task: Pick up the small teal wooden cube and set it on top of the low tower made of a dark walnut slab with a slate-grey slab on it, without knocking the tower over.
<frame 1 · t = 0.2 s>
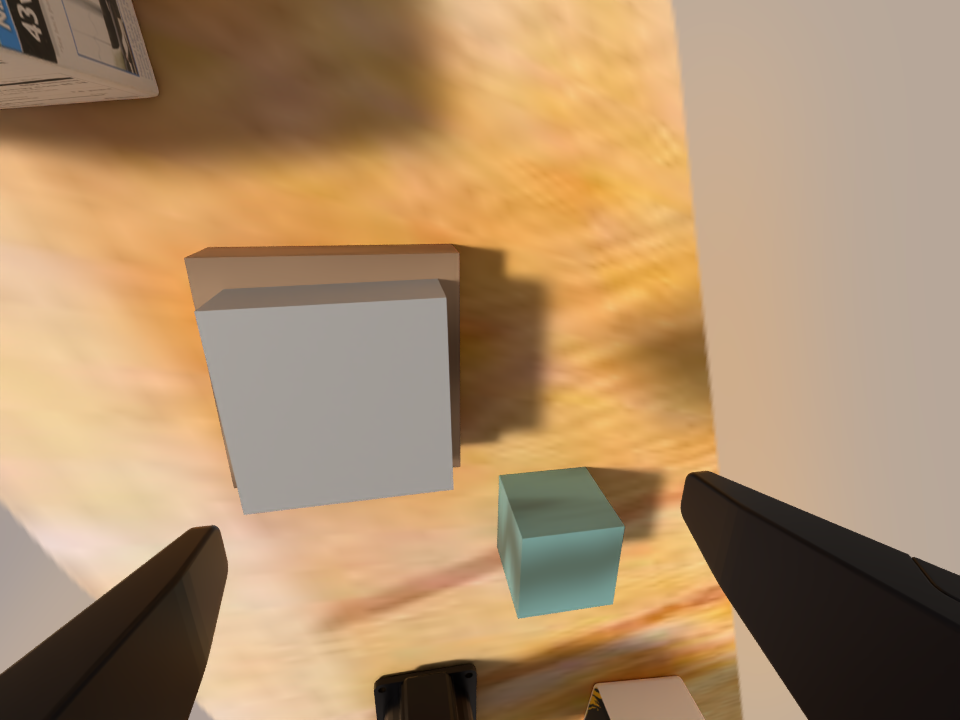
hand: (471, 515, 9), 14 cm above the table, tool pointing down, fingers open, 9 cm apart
grey slab: (346, 377, 20), point 2 cm above the table, touching walnut slab
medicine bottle: (625, 706, 37), on the table
teal block: (540, 506, 28), on the table
walnut slab: (346, 351, 23), on the table, touching grey slab
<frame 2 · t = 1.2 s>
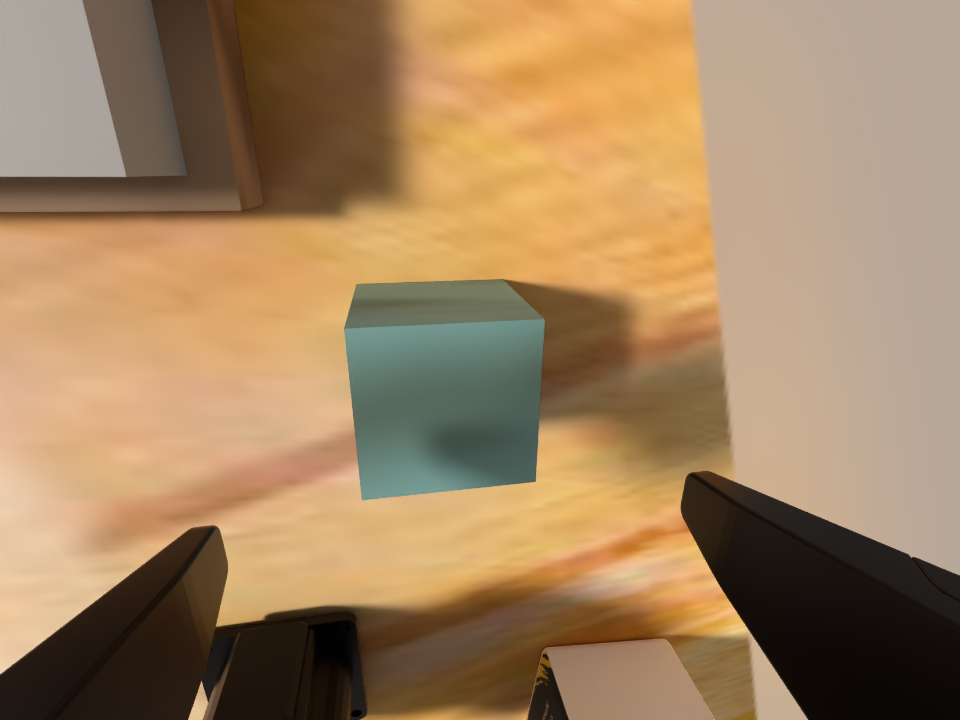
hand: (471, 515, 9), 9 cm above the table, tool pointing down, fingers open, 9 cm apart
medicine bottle: (590, 683, 26), on the table
teal block: (433, 349, 17), on the table
walnut slab: (35, 2, 12), on the table, touching grey slab
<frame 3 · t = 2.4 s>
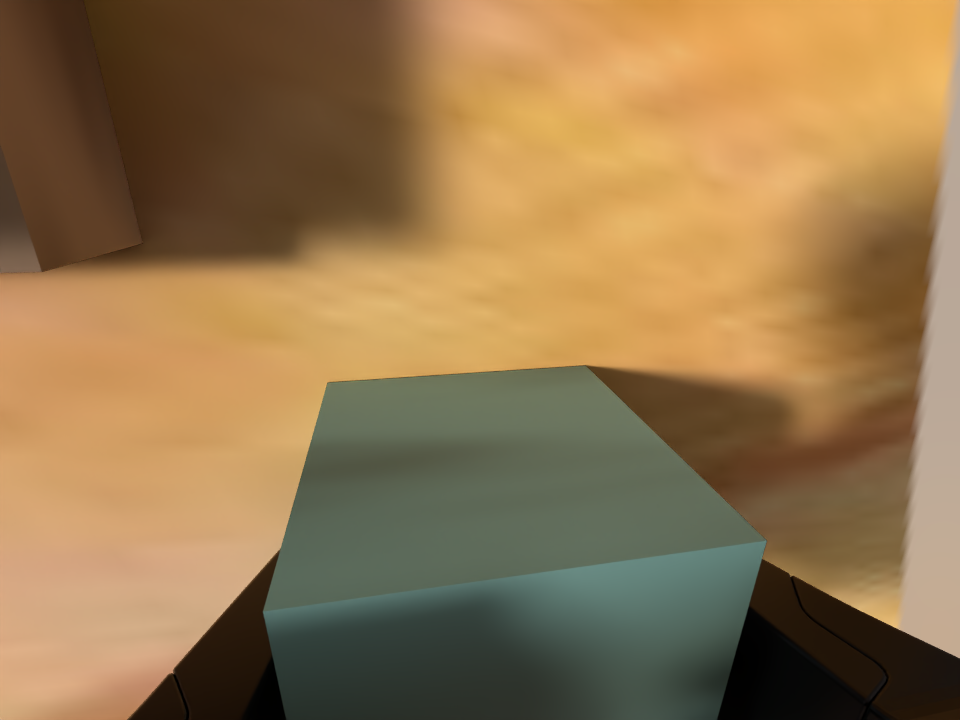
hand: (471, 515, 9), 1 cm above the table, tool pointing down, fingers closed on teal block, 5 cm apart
teal block: (463, 482, 10), on the table, touching gripper
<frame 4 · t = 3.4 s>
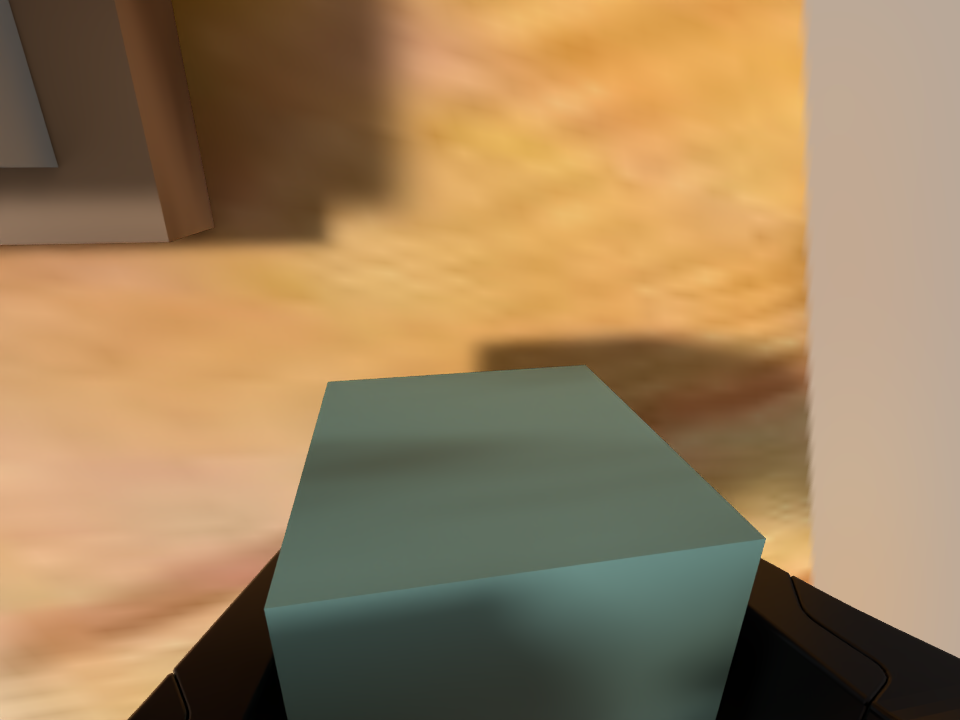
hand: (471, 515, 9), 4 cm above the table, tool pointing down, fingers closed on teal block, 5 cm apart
teal block: (463, 481, 10), point 3 cm above the table, touching gripper
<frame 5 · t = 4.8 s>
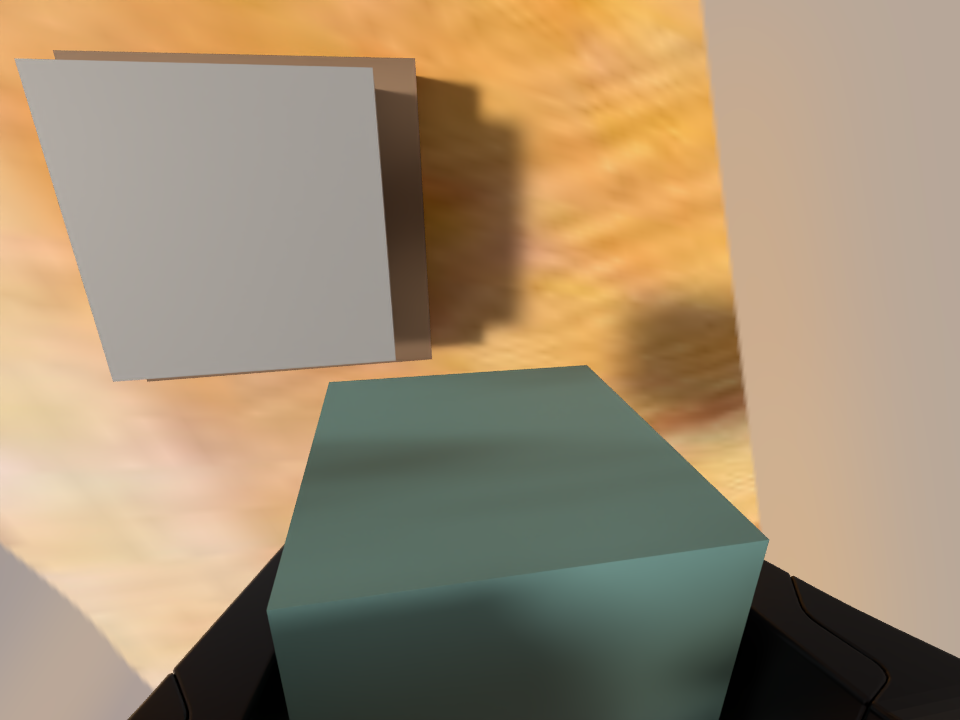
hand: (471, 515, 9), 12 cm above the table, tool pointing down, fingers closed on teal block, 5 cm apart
grey slab: (262, 224, 16), point 2 cm above the table, touching walnut slab
teal block: (464, 482, 10), point 11 cm above the table, touching gripper
walnut slab: (290, 222, 19), on the table, touching grey slab
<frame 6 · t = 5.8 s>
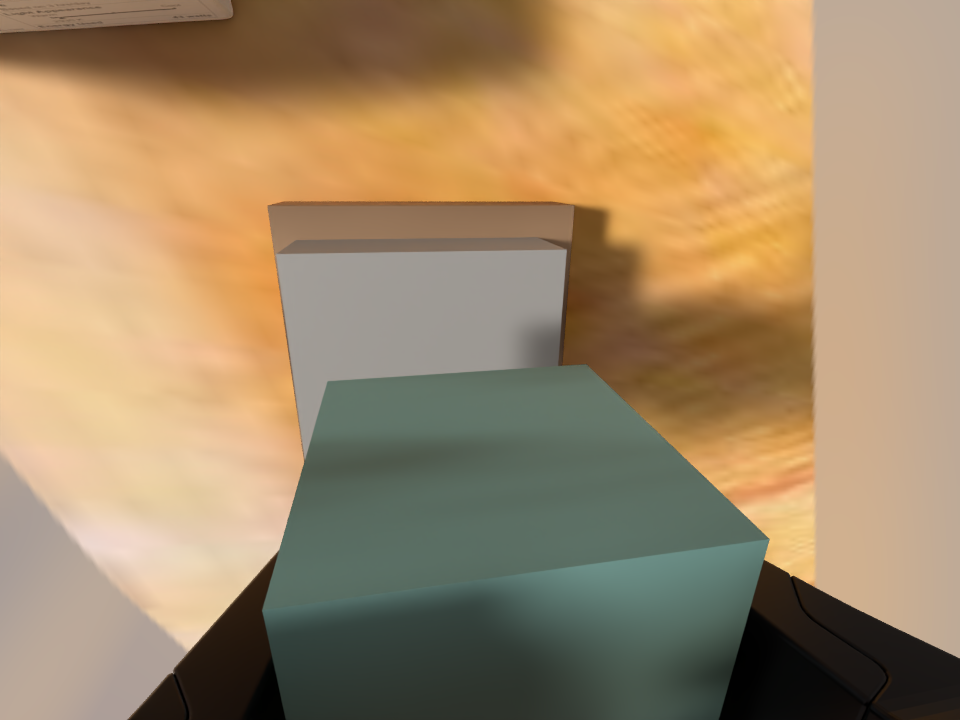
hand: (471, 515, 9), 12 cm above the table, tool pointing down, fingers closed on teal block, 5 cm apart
grey slab: (425, 351, 17), point 2 cm above the table, touching walnut slab
teal block: (463, 481, 10), point 10 cm above the table, touching gripper
walnut slab: (426, 325, 20), on the table, touching grey slab
when the fingers open (8 cm above the table, at t = 6.9 s): teal block drops 2 cm, resting on grey slab.
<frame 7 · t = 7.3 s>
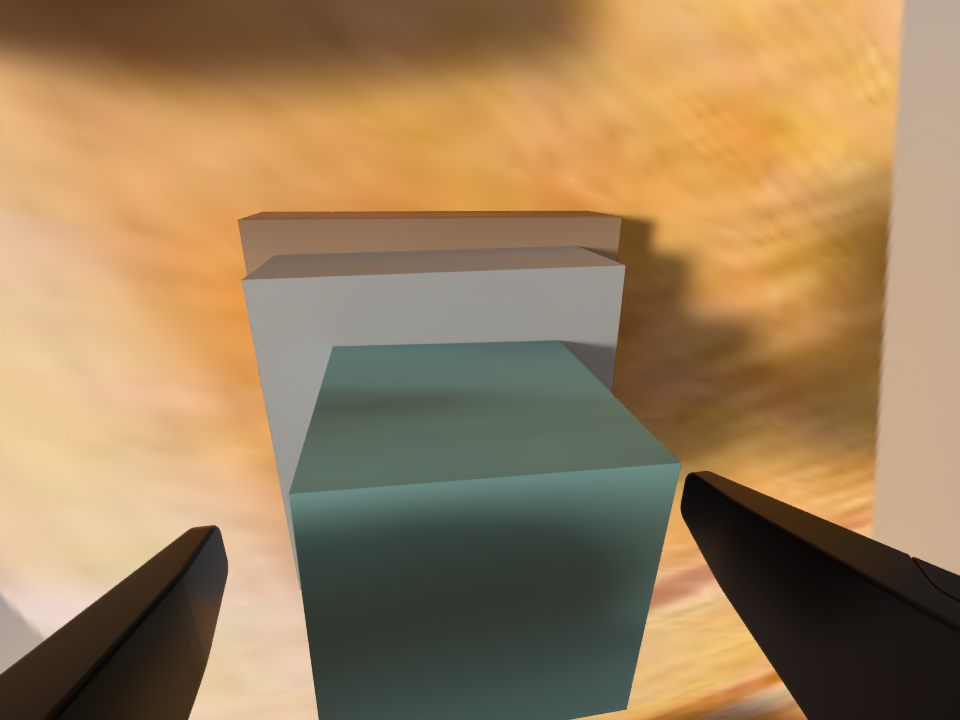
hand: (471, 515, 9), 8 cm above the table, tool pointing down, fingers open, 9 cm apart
grey slab: (438, 386, 14), point 2 cm above the table, touching teal block, walnut slab
teal block: (449, 441, 11), point 5 cm above the table, touching grey slab
walnut slab: (436, 356, 17), on the table, touching grey slab
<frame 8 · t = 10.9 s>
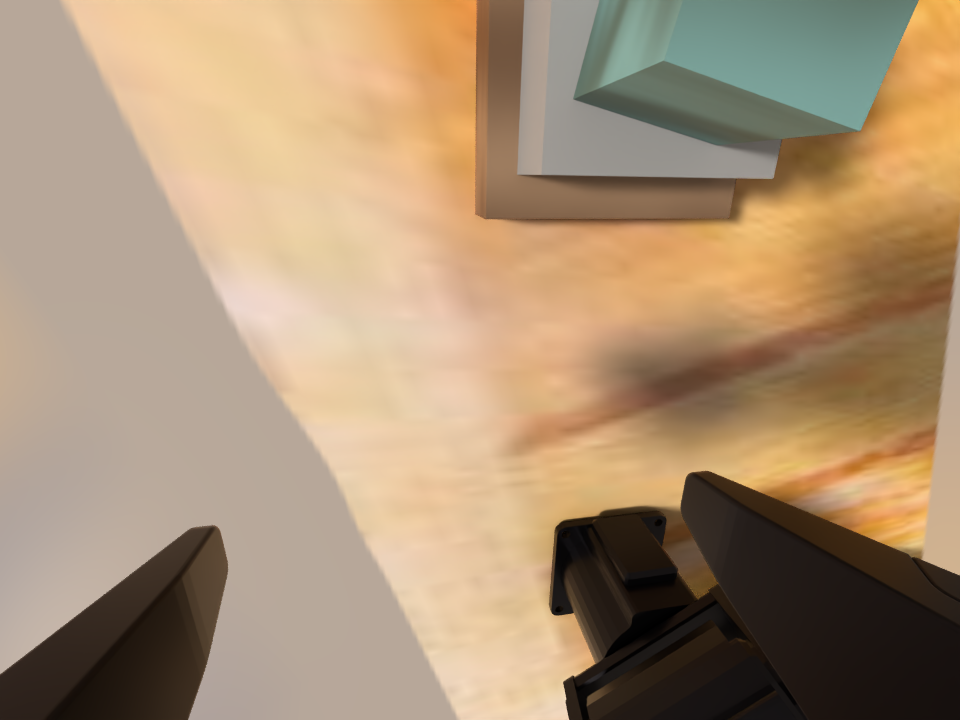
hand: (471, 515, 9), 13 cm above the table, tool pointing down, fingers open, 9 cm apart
grey slab: (634, 52, 17), point 2 cm above the table, touching walnut slab
teal block: (677, 29, 14), point 5 cm above the table
walnut slab: (594, 84, 19), on the table, touching grey slab
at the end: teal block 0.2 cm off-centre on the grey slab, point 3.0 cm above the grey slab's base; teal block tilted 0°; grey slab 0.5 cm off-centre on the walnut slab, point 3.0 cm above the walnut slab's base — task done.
